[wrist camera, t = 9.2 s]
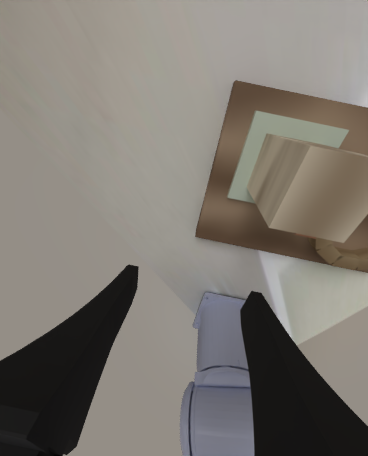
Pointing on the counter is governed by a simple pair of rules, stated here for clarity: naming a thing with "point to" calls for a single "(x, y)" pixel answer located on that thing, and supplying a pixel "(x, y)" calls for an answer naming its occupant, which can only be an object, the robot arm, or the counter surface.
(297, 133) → the sage pad
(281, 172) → the peg
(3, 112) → the counter surface
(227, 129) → the base board
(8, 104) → the counter surface
